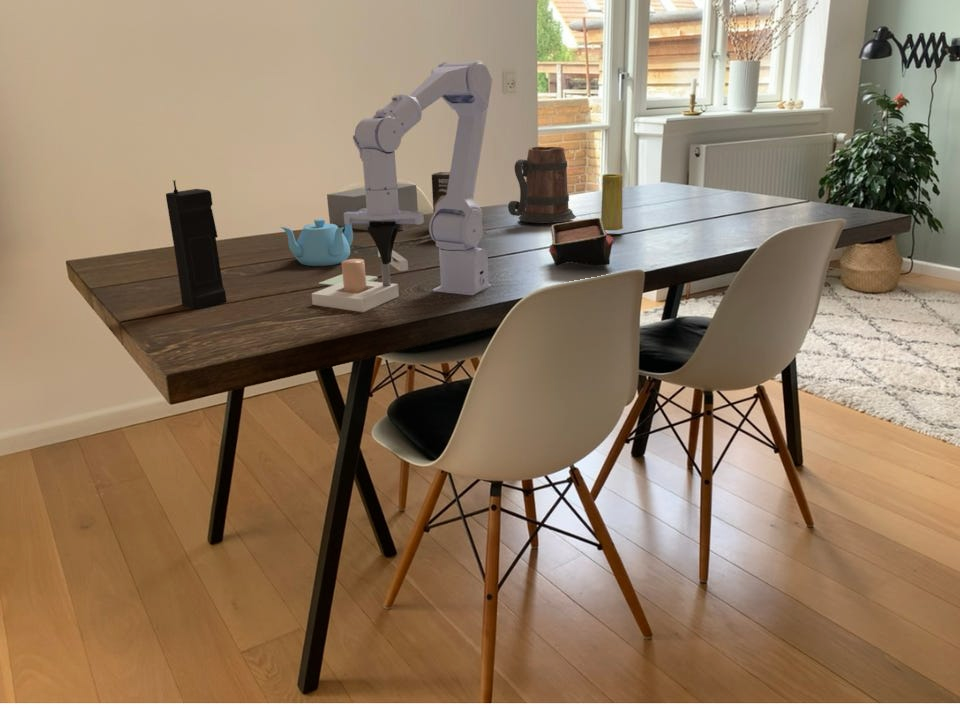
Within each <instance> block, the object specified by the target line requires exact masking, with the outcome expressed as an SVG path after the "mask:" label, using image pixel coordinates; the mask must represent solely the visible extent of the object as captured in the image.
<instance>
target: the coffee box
mask: <svg viewBox="0 0 960 708" xmlns="http://www.w3.org/2000/svg"><path fill="white" fill-rule="evenodd" d="M449 176H450V171H448V172H446V171H445V172H442V171H440V172H435V173H432V174H431V188H432V192H431V193H432V209H433V213H432V214H434V212H435V206H436V204H437V203H438V202H439V201H441V200H442V199H443V198H444V197H445V196H446V195H447V188H448V182H449ZM455 214H465V213H460V212H455Z"/></svg>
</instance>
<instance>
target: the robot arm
mask: <svg viewBox="0 0 960 708" xmlns="http://www.w3.org/2000/svg"><path fill="white" fill-rule="evenodd" d="M430 72H431V73H430V75H429V76H428V77H426V79H425V80H424V81H423V82H422V83H421V84H419V86H418V87H417V88H415V89H414V91H412V92H411V93H410V94H409V95H408V94H405V93H403V94H402V93H401V94H394V95H393V96H392V97H391V101H390V102H389V103H388V104H386V105H385V106H384V107H383V108H381V109H380V108H379V109H377V110H376V111H375V114H374V115H373V117H366V118H365V117H364V118H363V119H361V120H360V121H359V122H358V123H357V125H356V127H355V130H354V134H353V135H352V140H353V143H354V144H355V147H356V149H357V150H358V152H359V159H361V162H362V167H363V168H362V170H363V179H364V187H365V194H366V206H367V211H359V212H346V213H344V224H351V223H369V224H370V225H369V227H368V230H367V233H369V235H370V237H371V238H372V240H373V241H374V243H375V246H376V248H377V251H378V250H379V253H380V256H381V257H380V260H381V259H382V263H383V264H389V265H390V262H391V256H392V250H393V248H394V246H395V245H394V244H395V241H396V237H397V236H398V233H399V231H400V230H399V228H400V224H406V225H409V224H410V225H411V224H412V225H422V224H424V223H425V218H424V211H418V212H412V211H399V205H398V191H397V184H398V181H397V177H398V176H397V166H396V165H397V164H396V151H397V150H398V149H399V148H400V145H401V143H402V138H403V137H404V136H405V134H406V133H408V132H409V131H410V130H411V129H412V128H413V127H415V126H416V125H417V124H418V123H419V122H420V121H421V120H422V111H424V110H425V109H427V108H428V107H429V106H431V105H432V104H433V103H435V102H436V101H438V100H439V99H440V98H442V99H443V101H445V102H446V104H447V105H448V106H449V107H450V108H451V109H452V110H453V111H455V112H456V114H457V116H458V119H457V127H456V133H455V139H454V144H453V145H454V146H453V153H452V156H451V157H452V159H451V164H450V170H449V172H450V176H449V182H448V188H447V195H446V196H445V197H444V198H443V199H442V200H441V201H439V202H438V203H437V204H436V206H435V212H434V214H433V213H432V214H433V215H432V216H431V218H430V221H429V225H428V227H429V228H428V232H429V236H430V238H431V240H433V241H434V242H435V246H436V247H438V257H439V274H440V275H439V276H440V285H439V286H437V287H435V288H433V289H432V292H437V293H448V294H458V295H468V296H474V295H476V294H478V293H479V292H482V291H484V290H486V289H488V288H490V287H491V286H492V285H491V283H490V277H489V276H490V273H489V272H490V271H489V257H488V256H489V255H488V253H487V251H486V250H485V249H484V248H480V247H478V244H479V242H480V241H481V239H482V236H483V232H484V228H483V210H482V209H481V207H480V206H479V205H478V204H477V203H476V202H475V201H474V196H475V192H476V191H475V190H476V184H477V177H478V173H479V172H478V170H479V165H480V159H481V152H482V147H483V142H484V141H483V139H484V135H485V134H484V133H485V129H486V122H487V116H488V108H489V103H490V96H491V90H492V84H493V77H492V76H491V74H490V71H489V69H488V66H487V65H486V64H485V62H483V61H482V60H476V61H466V62H465V61H464V62H446V61H444V62H440V63H439V64H438V65H437V66H436V67H433V68H432V69H431V71H430ZM395 150H396V151H395ZM455 212H460V213H465V214H455ZM393 251H394V250H393Z"/></svg>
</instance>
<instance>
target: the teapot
mask: <svg viewBox="0 0 960 708" xmlns="http://www.w3.org/2000/svg"><path fill="white" fill-rule="evenodd" d="M313 222H314V223H313V224H306V225H304V226H303V228H302V230H301V232H300V233H299V236H298V237H297V239H296V238H295V235H294V232H293V230H292V229H291V228H290V227H289V228H288V227H286V226H285V227H284V226H280V228H281V229H282V230H283V231H284V232H285V233H286V236H287V242H288V247H289V251H290V252H291V253H292V255H294V257H295V259H296V260H297V262H298V263H300V264H301V265H304V266H308V267H309V266H310V267H325V266H334V265H339V264H341V262H342V261H344V260H348V258H349V257H350V255H351V245H352V243H353V241H354V231H353V228H352V223H351V224H345V227H339V226H337V225H335V224H330V223H326V219H325V218H318V219H314V220H313ZM343 230H344V233H343Z"/></svg>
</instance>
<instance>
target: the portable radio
mask: <svg viewBox="0 0 960 708" xmlns="http://www.w3.org/2000/svg"><path fill="white" fill-rule="evenodd" d="M176 182H177V180H175V179H174V180H173V187H174V190H173V192H167V193H165V198H166V199H165V200H166V206H167V210H168V212H167V213H168V217H169V223H170V230H171V236H172V242H173V248H174V250H173V251H174V255H175V256H174V257H175V261H176V268H177V270H176V271H177V275H178V282H179V289H180V297H181V306H184V307H188V308H190V309H194V310H202V309H207V308H210V307H213V306H217V305H218V306H219V305H221V304H225V303H227V295H226V290H225V287H224V285H223V278H222V273H221V272H222V271H221V266H220V264H221V263H220V258H219V251H218V246H217V245H218V244H217V238H218V232H217V227H216V223H215V217H214V213H213V209H212V206H213V204H214V203H213V199H212V198H213V197H212V192H211V191H210V190H208V189H203V188H202V189H200V188H193V189H186V190H178V189H177V185H176Z"/></svg>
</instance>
